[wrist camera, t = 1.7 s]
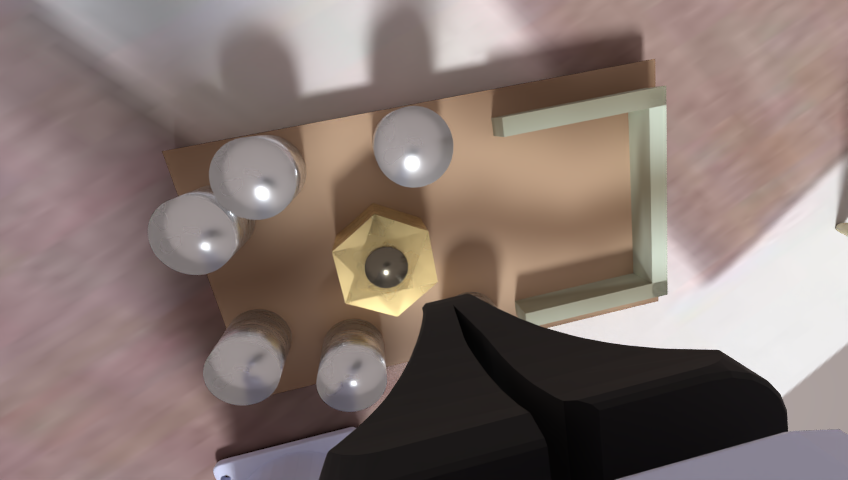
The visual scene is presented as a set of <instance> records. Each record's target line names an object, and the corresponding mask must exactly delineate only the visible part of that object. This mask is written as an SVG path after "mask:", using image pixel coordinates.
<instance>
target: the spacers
mask: <svg viewBox="0 0 848 480" xmlns="http://www.w3.org/2000/svg"><path fill="white" fill-rule="evenodd" d="M372 147H373V152H374V155H375V158H376V161H377V163H378V165H379V167H380V169H381V170H382V172H383V173H384V174H385V175H386V176H387V177H388V178H389V179H390V180H392V181H393V182H395V183H397V184H399V185H401V186H405V187H411V188H416V187H423V186H426V185H429V184H431V183H433V182H435V181H436V180H437V179H439V178H440V177H441V176H442V175H443V174H444V172H445V171H446V170H447V168H448V166H449V164H450V162H451V159H452V156H453V138H452V134H451V131H450V129H449V127H448V125H447V124H446V122H445V121H444V120H443V119H442V117H441V116H439V115H438V114H437V113H435V112H434V111H432V110H430V109H428V108H425V107H421V106H407V107H403V108H400V109H397V110H395V111H392V112H390V113H389V114H387V115H386V116H384V117H383V118H382V119H381V120H380V122H379V123H378V125H377V126H376V128H375V131H374V134H373V139H372ZM305 180H306V165H305V162H304V159H303V157H302V155H301V153H300V152H299V150H298V149H297V148H296V147H295V146H294V145H293V144H292V143H290V142H289V141H287V140H286V139H284V138H281V137H278V136H275V135H259V136H251V137H242V138H237V139H234V140H232V141H229V142H228V143H226V144H224V145H223V146H222V147H221V148H220V149H219V150H218V151H217V152H216V154H215V155H214V157H213V159H212V161H211V164H210V169H209V181H210V185H207V186H203V187H201V188H198V189H196V190H193V191H191V192H188V193H186V194H183V195H181V196H178V197H176V198H173V199H171V200H168V201H166V202H165V203H163V204H162V205H160V206H159V207H158V208H157V209H156V210H155V211H154V213H153V214H152V216H151V218H150V221H149V224H148V239H149V243H150V246H151V248H152V250H153V252H154V253H155V255H156V256H157V257H158V258H159V259H160V260H161V261H162V262H163V263H164V264H165V265H167V266H168V267H170V268H171V269H173V270H175V271H178V272H181V273H184V274H189V275H202V274H208V273H211V272H213V271H216V270H218V269H219V268H221V267H222V266H223V265H225V263H226V262H227V261H228V260H229V259H230V258H231V257H232V256H233V255H234V254H235V253H236V252H237V251H238V250H239V249H240V248H241V247H242V246H243V245H244V244H245V243H246V242H247V241H248V240H249V238H250V237H251V235H252V233H253V231H254V227H255V220H262V219H267V218H271V217H273V216H275V215H277V214H279V213H280V212H282V211H283V210H284V209H285V208H286V207H287V206H288V205H289V204H290V203H291V201H292V200H293V199H294V198H295V197H296V196H297V195H298V194H299V192H300V191H301V190H302V188H303V186H304V183H305ZM463 294H471V295H473V296H475V297H477V298H479V299H481V300H483V301H485V302H487V303H489V304H491V305H492V306H494V307H496V306H495V304H494V303H493V302H492V300H491V299H490V298H489V297H487V296H486V295H484V294H481V293H478V292H465V293H461V294H459V295H463ZM459 295H457V296H459ZM496 308H497V307H496ZM291 342H292V334H291V330H290V327H289V326H288V324H287V323H286V321H285V320H284V319H283V318H282V317H280V316H279V315H277V314H276V313H274V312H271V311H268V310H262V309H254V310H249V311H246V312H243V313H241V314H240V315H238V316H237V317H235V318H234V319H233V320H232V322H231V323H230V325H229V326H228V328H227V329H226V331H225V332H224V334H223V335H222V337H221V338H220V340H219V341H218V343H217V344H216V346H215V347H214V349H213V350H212V352H211V353H210V355H209V357H208V358H207V360H206V362H205V365H204V369H203V377H204V381H205V384H206V386H207V388H208V389H209V391H210V392H211V393H212V394H213V395H214V396H216V397H217V398H218V399H220V400H222V401H224V402H227V403H229V404H233V405H251V404H255V403H258V402H261V401H263V400H264V399H266V398H267V397H269V396H270V395H271V394H272V393H273V392H274V391H275V389H276V388H277V386H278V383H279V381H280V377H281V374H282V371H283V368H284V365H285V362H286V359H287V356H288V352H289V349H290V346H291ZM316 384H317V390H318V393H319V395H320V397H321V398H322V400H323V401H324V402H325V403H326V404H328V405H329V406H330V407H332V408H334V409H337V410H340V411H346V412H354V411H360V410H363V409H366V408H368V407H370V406H372V405H373V404H374V403H376V402H377V401H378V400H379V399H380V397H381V396H382V395H383V393H384V391H385V388H386V384H387V374H386V364H385V353H384V343H383V338H382V335H381V333H380V332H379V330H378V329H377V328H376V327H375V326H374V325H373V324H371V323H369V322H367V321H364V320H360V319H348V320H344V321H341V322H339V323H337V324H336V325H334V326H333V327H332V328H331V329H330V330H329V331H328V332H327V334H326V336H325V338H324V341H323V346H322V352H321V357H320V363H319V369H318V374H317V381H316Z"/></svg>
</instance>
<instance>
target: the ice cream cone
mask: <svg viewBox="0 0 848 480" xmlns="http://www.w3.org/2000/svg"><path fill="white" fill-rule="evenodd" d="M836 230H837V231H838V232H840V233H842V234H844V235H846V236H848V223H839V224H837V226H836Z"/></svg>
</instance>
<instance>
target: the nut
mask: <svg viewBox="0 0 848 480" xmlns="http://www.w3.org/2000/svg"><path fill="white" fill-rule="evenodd" d="M332 254H333V258H334V262H335V266H336V269H337V273H338V277H339V281H340V285H341V289H342V292H343V296H344V300H345V303H346V304H350V305H354V306H358V307H362V308H366V309H370V310H373V311H377V312H381V313H385V314H389V315H393V316H397V317H398V316H399V315H400V314H401V313H402V312H404V311H405V310H406V309H407V308H408V307H409V306H411V305H412V304H413V303H414V302H415V301H416V300H418V299H419V298H420V297H421V296H422V295H423V294H425V293H426V292H427V291H428V290H429V289H430V288H432V287H433V286H434V285H435V284H436V283H437V282H438V280H437V275H436V270H435V264H434V259H433V253H432V248H431V243H430V237H429V232H428V230H427V228H426V226H425V225H424V223H423V222H422V220H421V218H419V217H416V216H413V215H410V214H406V213H403V212H400V211H397V210H394V209H391V208H388V207H384V206H381V205H378V204H375V203H372V204H371V205H370V206H369V207H368V208H367V209H366V210H364V211H363V212H362V213H361V214H360V215H359V216H358V217H356V218H355V219H354V220H353V221H352V222H351V223H350V224H349V225H347V226H346V227H345V228H344V229H343V230H342V231H341V232H340V233H338V234H337V235H336V237H335V241H334V245H333V250H332Z"/></svg>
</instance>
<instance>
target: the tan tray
mask: <svg viewBox="0 0 848 480" xmlns="http://www.w3.org/2000/svg"><path fill="white" fill-rule="evenodd" d="M407 106H421V107H425V108H428V109H430V110H432V111H434V112H435V113H437V114H438V115H439V116H441V117H442V119H443V120H444V121H445V122H446V124H447V125H448V127H449V129H450V131H451V134H452V138H453V156H452V159H451V162H450V164H449V166H448V168H447V170H446V171H445V172H444V174H443V175H442V176H441V177H440V178H439V179H437V180H436V181H435V182H433V183H431V184H429V185H426V186H423V187H416V188H411V187H405V186H401V185H399V184H397V183H395V182H393V181H392V180H390V179H389V178H388V177H387V176H386V175H385V174H384V173H383V172H382V170H381V169H380V167H379V165H378V163H377V161H376V158H375V155H374V152H373V147H372V139H373V134H374V131H375V128H376V126H377V125H378V123H379V122H380V120H381V119H382V118H383V117H384V116H386V115H387V114H389V113H390V112H392V111H395V110H397V109H400V108H403V107H407ZM259 135H275V136H278V137H281V138H284V139H286V140H287V141H289V142H290V143H292V144H293V145H294V146H295V147H296V148H297V149H298V150H299V152H300V153H301V155H302V157H303V159H304V162H305V165H306V180H305V183H304V186H303V188H302V190H301V191H300V192H299V194H298V195H297V196H296V197H295V198H294V199H293V200H292V201H291V203H290V204H289V205H288V206H287V207H286V208H285V209H284V210H283V211H282V212H280V213H279V214H277V215H275V216H273V217H271V218H267V219H262V220H255V227H254V231H253V233H252V235H251V237H250V238H249V240H248V241H247V242H246V243H245V244H244V245H243V246H242V247H241V248H240V249H239V250H238V251H237V252H236V253H235V254H234V255H233V256H232V257H231V258H230V259H229V260H228V261H227V262H226V263H225V265H223V266H222V267H221V268H219V269H218V270H216V271H213V272H211V273H208V274H207V277H208V279H209V282H210V285H211V288H212V290H213V293H214V296H215V299H216V301H217V304H218V307H219V310H220V312H221V315H222V318H223V321H224V323H225V326H226V329H227V328H228V326H229V325H230V323H231V322H232V320H233V319H234V318H235V317H237V316H238V315H240V314H241V313H243V312H246V311H249V310H254V309H262V310H268V311H271V312H274V313H276V314H277V315H279V316H280V317H282V318H283V319H284V320H285V321H286V323H287V324H288V326H289V327H290V330H291V334H292V342H291V346H290V349H289V352H288V356H287V359H286V362H285V365H284V368H283V371H282V374H281V377H280V381H279V383H278V386H277V388H276V389H275V391H274V392H273V393H272V394H271V395H273V394H277V393H281V392H285V391H289V390H294V389H298V388H302V387H306V386H310V385H314V384H316V381H317V374H318V369H319V363H320V357H321V352H322V346H323V341H324V338H325V336H326V334H327V332H328V331H329V330H330V329H331V328H332V327H333V326H334V325H336V324H337V323H339V322H341V321H344V320H348V319H360V320H364V321H367V322H369V323H371V324H373V325H374V326H375V327H376V328H377V329H378V330H379V332H380V333H381V335H382V338H383V343H384V353H385V364H386V367H388V366H392V365H396V364H401V363H405V362H409V359H410V357H411V355H412V352H413V350H414V347H415V345H416V342H417V339H418V336H419V332H420V328H421V324H422V319H423V310H422V307H423V306H424V305H425V303H429V302H433V301H438V300H442V299H446V298H450V297H455V296H457V295H459V294H461V293H465V292H478V293H481V294H484V295H486V296H487V297H489V298H490V299H491V300H492V302H493V303H494V304H495V306H496V307H497V308H498V309H501V310H503V311H505V312H507V313H509V314H511V315H513V316H516V317H518V318H520V319H523V320H525V321H528V322H531V323H533V324H536V325H538V326H541V327H544V328H549V327H553V326H557V325H561V324H565V323H569V322H573V321H578V320H582V319H586V318H590V317H594V316H598V315H602V314H606V313H610V312H615V311H619V310H623V309H627V308H631V307H635V306H639V305H643V304H648V303H652V302H656V301H658V297H659V296H663V295H667V142H666V86H660V87H655V59H651V60H646V61H641V62H635V63H630V64H625V65H619V66H614V67H609V68H603V69H598V70H593V71H587V72H582V73H577V74H571V75H566V76H561V77H555V78H550V79H545V80H539V81H534V82H529V83H523V84H518V85H513V86H507V87H502V88H497V89H491V90H486V91H481V92H475V93H470V94H465V95H459V96H454V97H449V98H443V99H438V100H433V101H427V102H422V103H417V104H411V105H406V106H401V107H395V108H390V109H385V110H379V111H374V112H369V113H363V114H358V115H353V116H347V117H342V118H337V119H331V120H326V121H321V122H315V123H310V124H305V125H300V126H294V127H289V128H284V129H278V130H273V131H268V132H262V133H257V134H252V135H246V136H241V137H236V138H230V139H225V140H220V141H214V142H209V143H204V144H198V145H193V146H188V147H182V148H177V149H172V150H166V151H162V153H163V156H164V158H165V161H166V164H167V167H168V169H169V172H170V175H171V178H172V180H173V183H174V186H175V189H176V191H177V194H178V196H181V195H183V194H186V193H188V192H191V191H193V190H196V189H198V188H201V187H203V186H207V185H210V181H209V169H210V164H211V161H212V159H213V157H214V155H215V154H216V152H217V151H218V150H219V149H220V148H221V147H222V146H223V145H224V144H226V143H228V142H229V141H232V140H234V139H237V138H242V137H251V136H259ZM372 203H375V204H378V205H381V206H384V207H388V208H391V209H394V210H397V211H400V212H403V213H406V214H410V215H413V216H416V217H419V218H421V220H422V222H423V223H424V225H425V226H426V228H427V230H428V232H429V237H430V243H431V248H432V253H433V259H434V264H435V270H436V275H437V280H438V282H437V283H436V284H435V285H434V286H433V287H432V288H430V289H429V290H428V291H427V292H426V293H425V294H423V295H422V296H421V297H420V298H419V299H418V300H416V301H415V302H414V303H413V304H412V305H411V306H409V307H408V308H407V309H406V310H405V311H404V312H402V313H401V314H400V315H399V316H398V317H397V316H393V315H389V314H385V313H381V312H377V311H373V310H370V309H366V308H362V307H358V306H354V305H350V304H346V303H345V300H344V296H343V292H342V289H341V285H340V281H339V277H338V273H337V269H336V266H335V262H334V258H333V254H332V250H333V245H334V241H335V237H336V235H337V234H338V233H340V232H341V231H342V230H343V229H344V228H345V227H346V226H347V225H349V224H350V223H351V222H352V221H353V220H354V219H355V218H356V217H358V216H359V215H360V214H361V213H362V212H363V211H364V210H366V209H367V208H368V207H369V206H370V205H371V204H372Z"/></svg>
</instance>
